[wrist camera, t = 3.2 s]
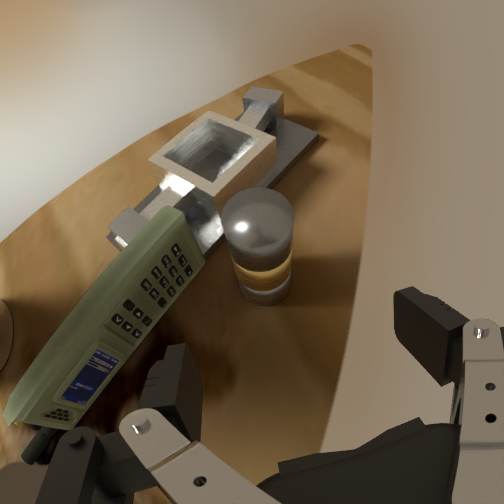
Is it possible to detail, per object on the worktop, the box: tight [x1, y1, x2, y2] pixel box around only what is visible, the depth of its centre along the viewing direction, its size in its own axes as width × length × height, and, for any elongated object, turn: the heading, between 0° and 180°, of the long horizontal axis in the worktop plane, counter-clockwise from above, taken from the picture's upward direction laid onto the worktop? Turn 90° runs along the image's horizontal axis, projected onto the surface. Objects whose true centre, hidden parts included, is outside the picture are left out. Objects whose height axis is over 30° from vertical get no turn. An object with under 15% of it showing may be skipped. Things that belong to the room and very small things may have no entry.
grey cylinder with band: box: [221, 188, 294, 306], centre depth 22 cm, size 4×4×9 cm
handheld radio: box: [2, 205, 206, 465], centre depth 21 cm, size 7×3×25 cm
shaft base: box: [107, 87, 319, 261], centre depth 29 cm, size 22×9×5 cm, turn 142°
